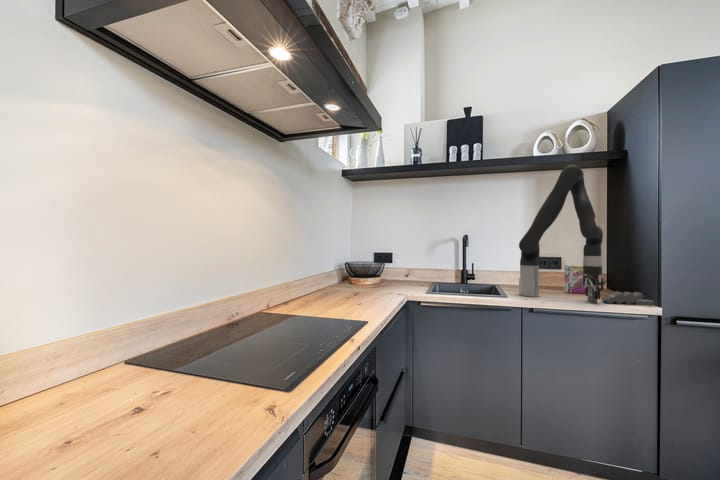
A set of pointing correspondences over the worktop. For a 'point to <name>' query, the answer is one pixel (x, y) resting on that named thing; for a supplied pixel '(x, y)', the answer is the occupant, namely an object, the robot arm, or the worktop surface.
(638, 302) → the domino
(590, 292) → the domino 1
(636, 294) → the domino
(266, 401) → the worktop surface
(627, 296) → the dark grey bumpy bar
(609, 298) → the domino
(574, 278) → the candy bar box
